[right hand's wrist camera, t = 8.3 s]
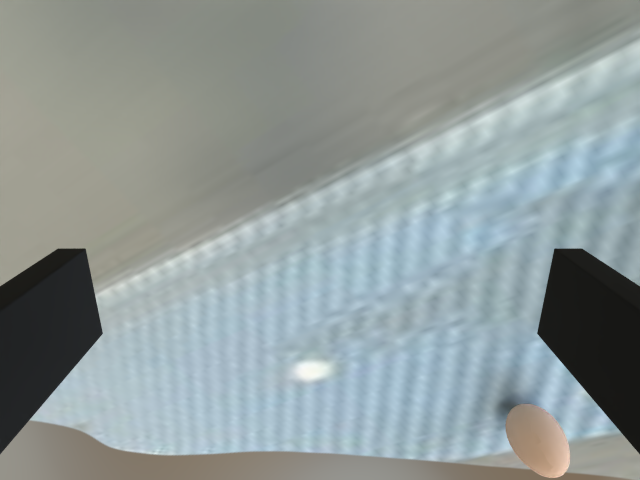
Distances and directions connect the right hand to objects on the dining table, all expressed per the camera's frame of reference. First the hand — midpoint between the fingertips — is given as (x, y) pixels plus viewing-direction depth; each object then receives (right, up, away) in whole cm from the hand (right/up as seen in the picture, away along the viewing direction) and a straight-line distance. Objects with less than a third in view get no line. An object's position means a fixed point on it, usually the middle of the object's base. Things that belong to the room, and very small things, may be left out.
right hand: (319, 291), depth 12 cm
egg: (+22, -17, +36) cm, 45 cm away
